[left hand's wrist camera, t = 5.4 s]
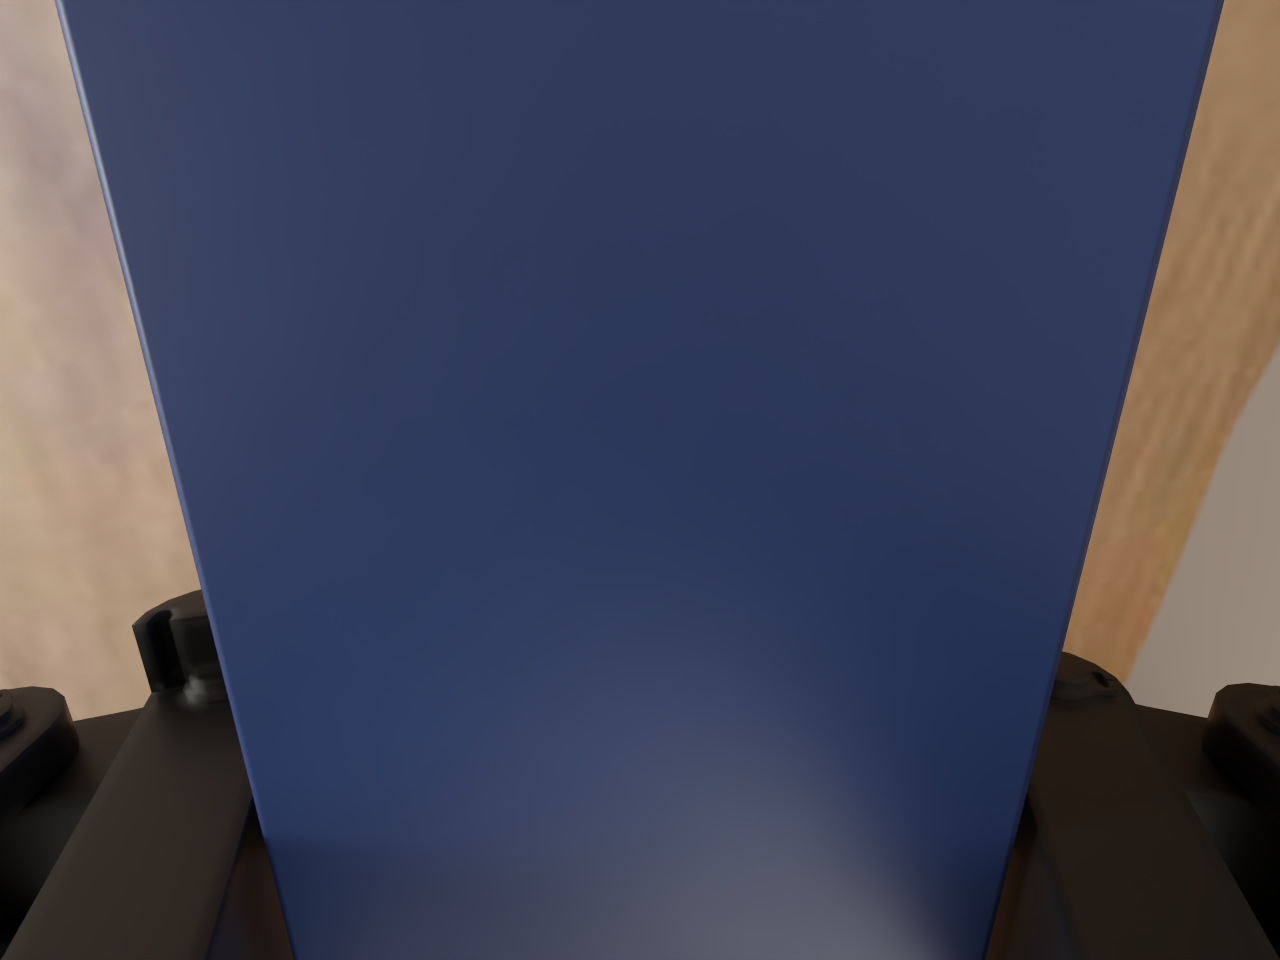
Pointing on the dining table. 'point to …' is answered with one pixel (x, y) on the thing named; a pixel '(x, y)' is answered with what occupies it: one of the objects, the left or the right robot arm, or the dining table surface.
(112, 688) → the dining table surface
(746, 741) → the bar
